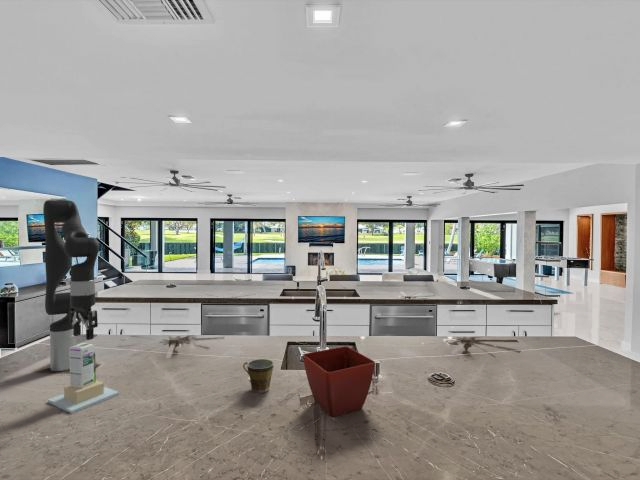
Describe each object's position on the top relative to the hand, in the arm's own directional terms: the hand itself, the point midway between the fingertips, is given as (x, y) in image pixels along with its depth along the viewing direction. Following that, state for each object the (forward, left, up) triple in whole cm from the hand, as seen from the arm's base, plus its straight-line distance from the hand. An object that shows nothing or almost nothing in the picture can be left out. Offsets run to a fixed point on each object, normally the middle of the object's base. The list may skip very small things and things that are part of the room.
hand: (83, 337), depth 130 cm
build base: (0, 0, -22) cm, 22 cm away
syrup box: (-1, 0, -18) cm, 18 cm away
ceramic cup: (+49, +38, -23) cm, 66 cm away
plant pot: (+82, +42, -23) cm, 95 cm away
